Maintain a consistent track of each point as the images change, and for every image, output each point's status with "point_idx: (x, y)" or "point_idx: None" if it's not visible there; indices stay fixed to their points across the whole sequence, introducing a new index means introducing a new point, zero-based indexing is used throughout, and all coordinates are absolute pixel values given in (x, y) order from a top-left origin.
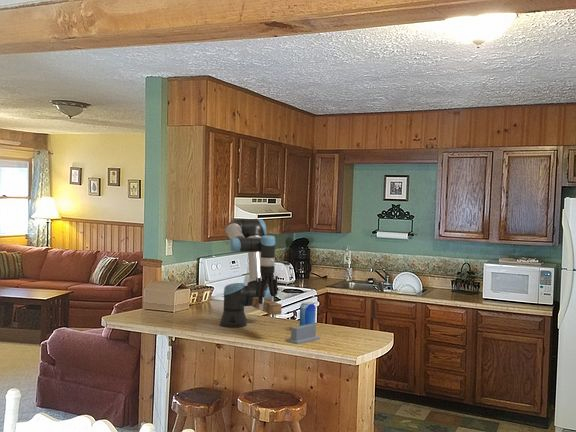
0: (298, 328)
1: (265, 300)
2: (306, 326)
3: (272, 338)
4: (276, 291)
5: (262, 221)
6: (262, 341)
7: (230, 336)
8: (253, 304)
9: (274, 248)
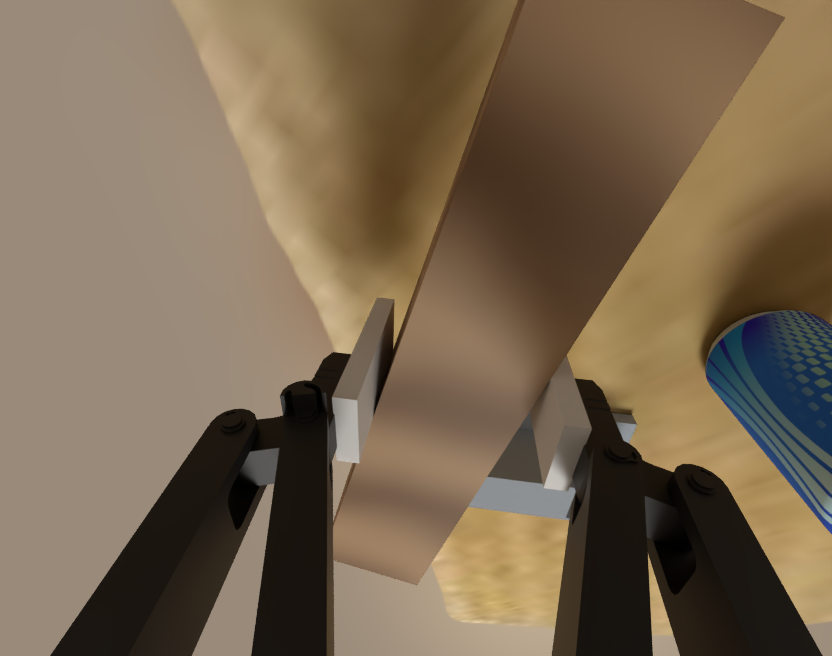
0: (473, 506)
1: (468, 373)
2: (553, 511)
3: None
4: (676, 579)
5: None
6: (345, 316)
7: (240, 58)
8: (509, 28)
9: None
